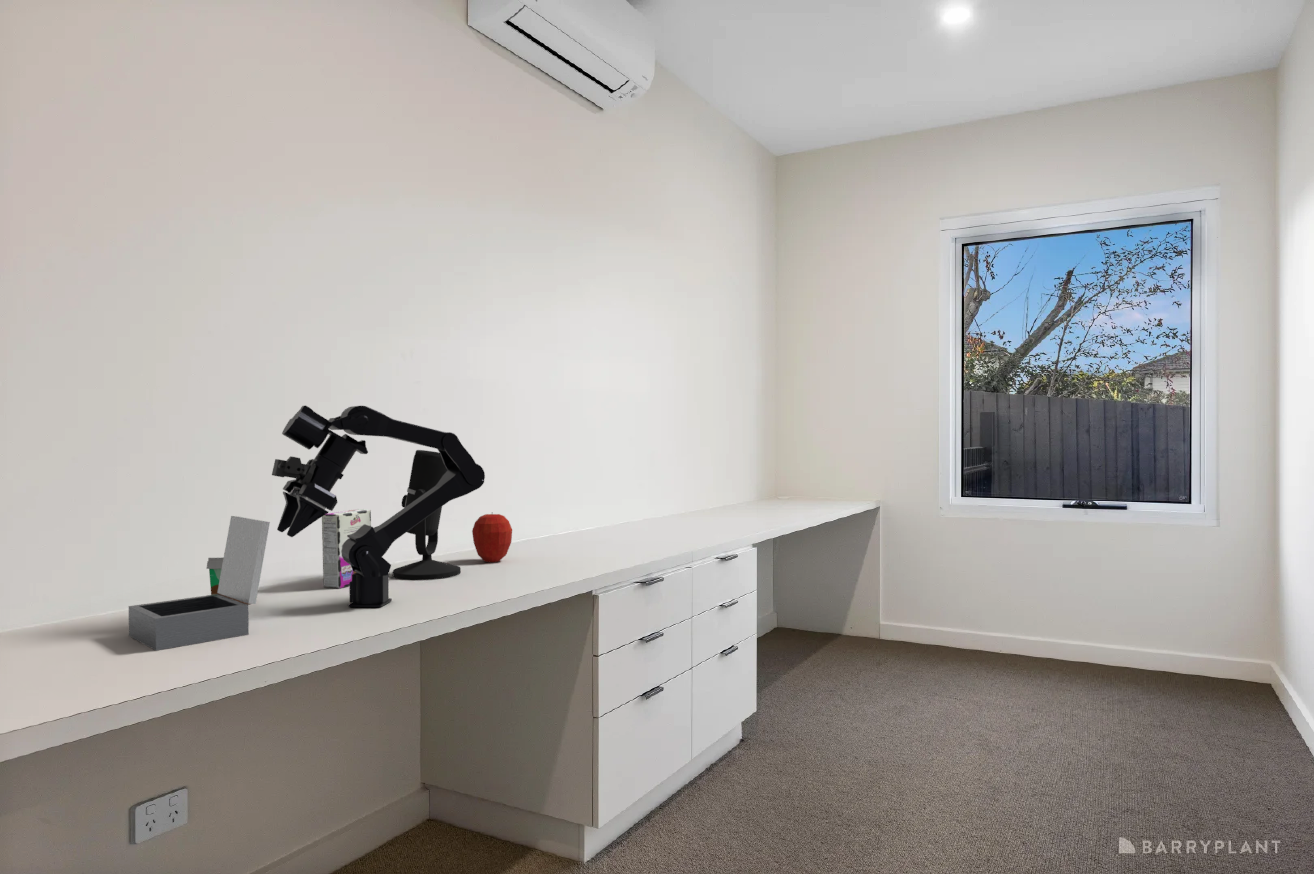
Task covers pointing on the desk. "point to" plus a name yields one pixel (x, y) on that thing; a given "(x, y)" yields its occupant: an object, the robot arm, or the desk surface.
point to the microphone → (425, 521)
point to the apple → (492, 537)
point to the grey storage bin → (187, 621)
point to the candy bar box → (339, 544)
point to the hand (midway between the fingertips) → (284, 533)
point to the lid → (243, 559)
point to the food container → (216, 575)
